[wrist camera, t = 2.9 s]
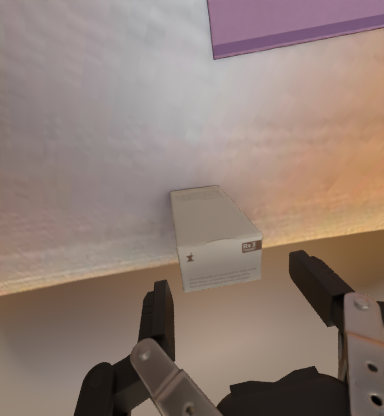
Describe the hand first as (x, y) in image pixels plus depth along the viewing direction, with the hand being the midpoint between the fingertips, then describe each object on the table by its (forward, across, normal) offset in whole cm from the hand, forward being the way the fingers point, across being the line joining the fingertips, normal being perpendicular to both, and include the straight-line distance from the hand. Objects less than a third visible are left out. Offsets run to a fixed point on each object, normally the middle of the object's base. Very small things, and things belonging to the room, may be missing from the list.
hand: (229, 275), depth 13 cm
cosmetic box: (+13, 0, 0) cm, 13 cm away
